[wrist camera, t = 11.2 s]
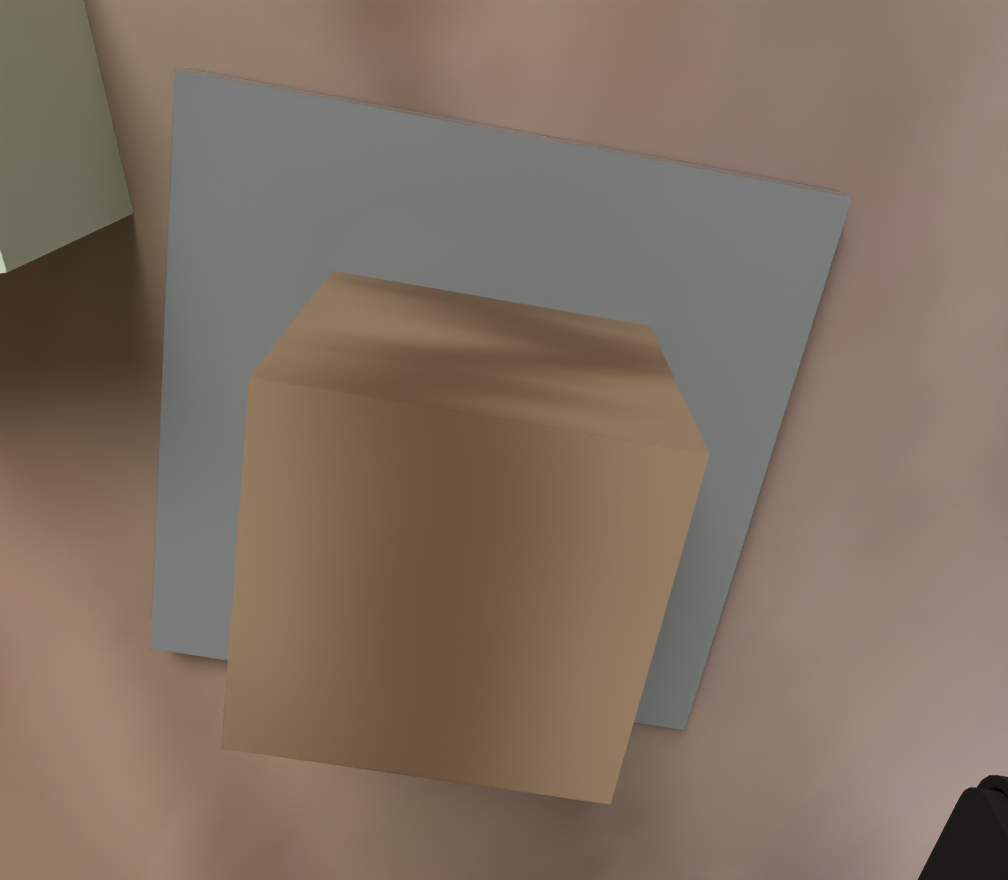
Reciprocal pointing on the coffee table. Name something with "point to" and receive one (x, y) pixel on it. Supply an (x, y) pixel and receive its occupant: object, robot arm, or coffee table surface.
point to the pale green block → (53, 132)
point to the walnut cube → (456, 538)
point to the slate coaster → (476, 271)
